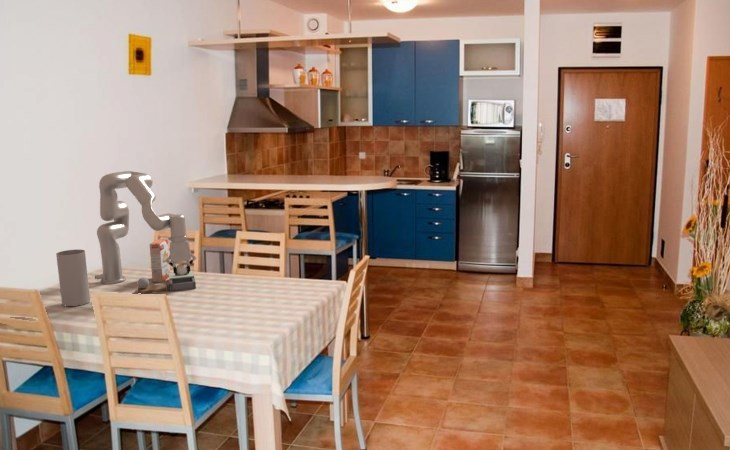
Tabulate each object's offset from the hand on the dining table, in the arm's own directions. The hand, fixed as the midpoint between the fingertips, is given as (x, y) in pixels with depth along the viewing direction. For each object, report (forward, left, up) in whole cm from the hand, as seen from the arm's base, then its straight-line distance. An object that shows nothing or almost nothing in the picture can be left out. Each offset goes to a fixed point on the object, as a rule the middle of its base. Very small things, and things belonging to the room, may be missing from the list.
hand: (182, 273), depth 350 cm
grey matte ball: (-19, 0, -3) cm, 19 cm away
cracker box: (-10, +22, -7) cm, 25 cm away
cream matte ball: (0, 0, +2) cm, 2 cm away
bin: (0, +7, -7) cm, 10 cm away
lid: (0, +11, -3) cm, 11 cm away
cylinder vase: (-50, -9, -7) cm, 52 cm away
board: (-15, 0, -7) cm, 17 cm away
